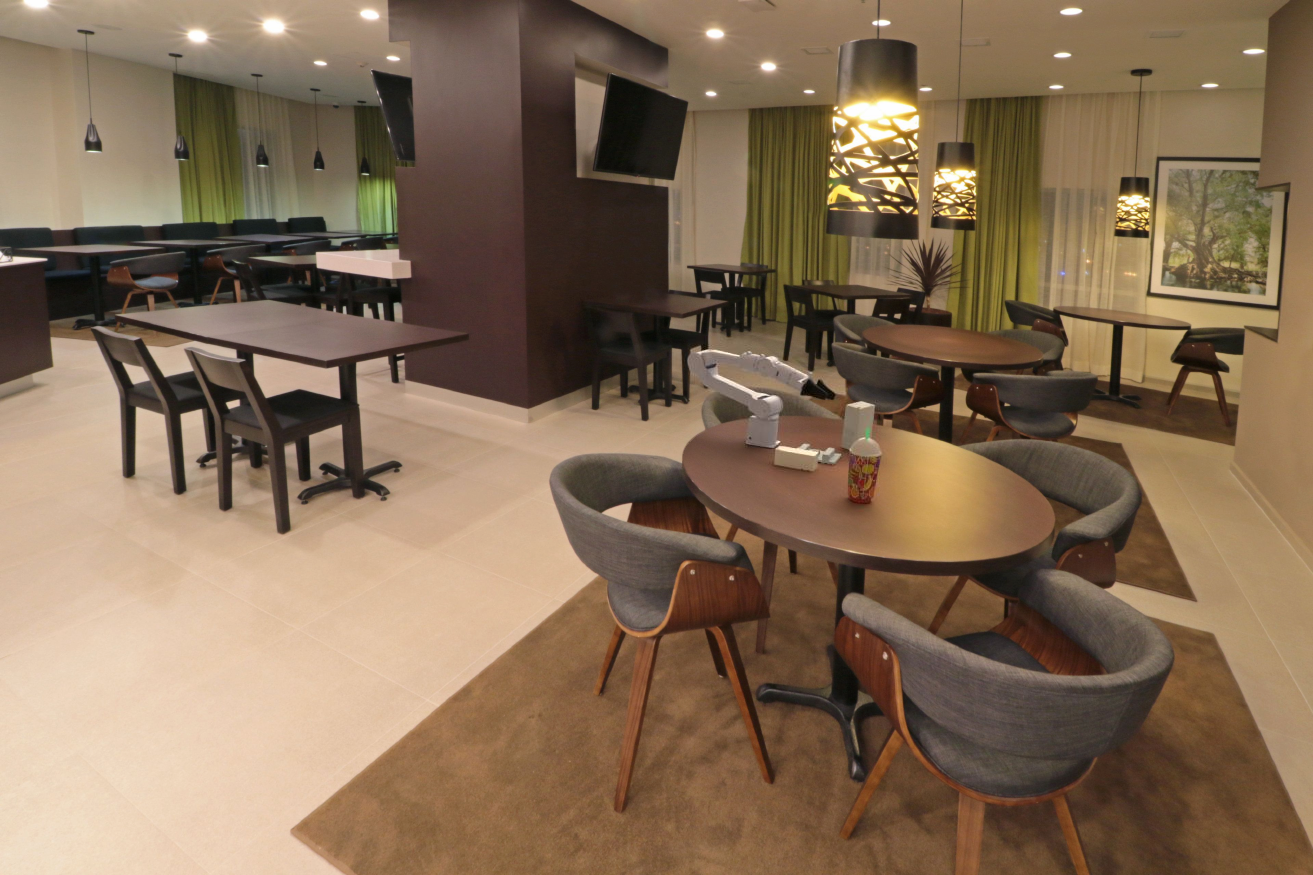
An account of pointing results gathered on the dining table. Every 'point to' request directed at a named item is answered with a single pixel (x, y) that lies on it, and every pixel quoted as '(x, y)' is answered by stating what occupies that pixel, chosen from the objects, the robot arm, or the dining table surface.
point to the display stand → (824, 454)
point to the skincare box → (857, 422)
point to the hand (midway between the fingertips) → (830, 397)
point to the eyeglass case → (796, 458)
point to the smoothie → (863, 469)
